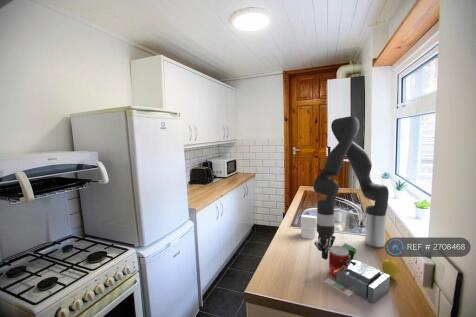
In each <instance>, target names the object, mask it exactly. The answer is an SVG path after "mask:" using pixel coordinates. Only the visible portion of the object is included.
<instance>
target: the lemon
mask: <svg viewBox="0 0 476 317" xmlns="http://www.w3.org/2000/svg"><path fill="white" fill-rule="evenodd" d="M381 266H382V272H383V274H384V273H385V274H387V275H389V276H390V278H395V277H397V275H398V273H399V267H398V264H397V262H395V260H393V259H391V258H389V259H385V260H384V261H383V262H382V264H381Z"/></svg>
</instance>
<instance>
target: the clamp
mask: <svg viewBox="0 0 476 317" xmlns="http://www.w3.org/2000/svg"><path fill="white" fill-rule="evenodd" d="M341 247H344V248H346V249H347V250H348V251H349V262H351V260H353V259H354V256H355V255H356V253H357V251H358V250H357V248H355V247H353V246H351V245H350V244H348V243H346V242H344V244H343V245H341Z"/></svg>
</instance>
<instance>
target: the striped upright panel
mask: <svg viewBox="0 0 476 317" xmlns="http://www.w3.org/2000/svg"><path fill="white" fill-rule="evenodd" d="M323 281H324V283H326V284H328V285H329V286H331V287H333V288H334V289H336V290H338V291H339V292H341V293H343V294H345V295H346V296H348V297H351V296H352V295H353V294H355V293H354V292H352V291H350V290H349V289H347V288H346V287H344V286H342V285H340V284H339V283H337V282H336V281H335V280H332V279H331V278H329V277H327V278H326V279H325V280H323Z"/></svg>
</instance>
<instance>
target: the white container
mask: <svg viewBox="0 0 476 317" xmlns="http://www.w3.org/2000/svg"><path fill="white" fill-rule="evenodd" d="M317 235H318V232H317V215H316V216H315V215H307V214H301V217H300V236H301V237H302V238H303V237H304V239H306V238H307V239H306V240H314V238H315V239H316V238H318V236H317Z"/></svg>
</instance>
